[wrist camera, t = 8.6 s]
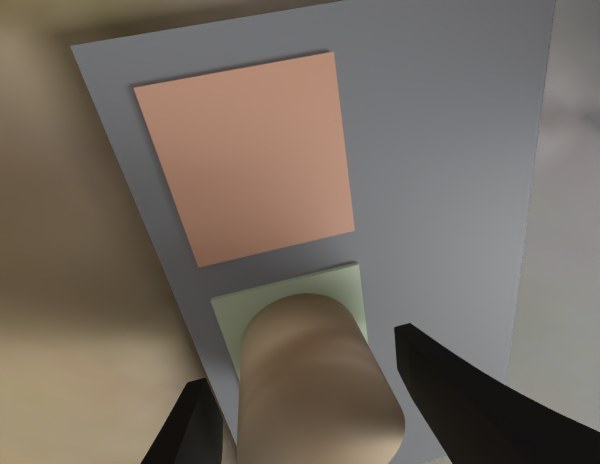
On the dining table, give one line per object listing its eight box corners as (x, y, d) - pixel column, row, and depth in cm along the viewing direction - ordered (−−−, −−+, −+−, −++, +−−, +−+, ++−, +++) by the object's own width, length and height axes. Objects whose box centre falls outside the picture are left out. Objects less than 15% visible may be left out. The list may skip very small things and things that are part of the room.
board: (524, -18, 10) (566, -39, 8) (483, 419, 18) (502, 442, 17) (93, 55, 8) (65, 43, 7) (263, 486, 17) (264, 517, 15)
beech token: (360, 286, 11) (413, 367, 7) (356, 378, 13) (398, 481, 9) (234, 302, 11) (225, 399, 7) (247, 396, 12) (246, 514, 9)
